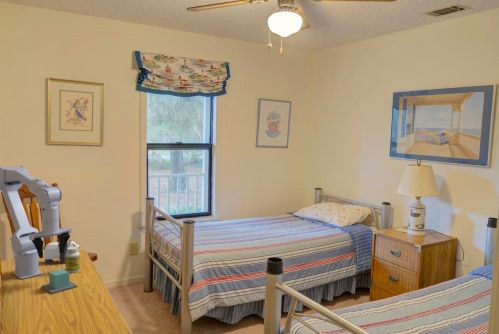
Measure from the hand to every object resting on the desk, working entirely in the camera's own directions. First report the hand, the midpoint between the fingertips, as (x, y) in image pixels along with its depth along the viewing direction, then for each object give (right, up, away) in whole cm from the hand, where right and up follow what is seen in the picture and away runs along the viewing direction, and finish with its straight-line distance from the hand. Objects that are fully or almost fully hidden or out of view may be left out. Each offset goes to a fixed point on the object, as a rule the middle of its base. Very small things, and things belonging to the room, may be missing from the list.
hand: (51, 255), depth 148 cm
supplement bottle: (+2, -10, +13) cm, 17 cm away
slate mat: (+5, -11, -3) cm, 12 cm away
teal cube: (+5, -10, -4) cm, 12 cm away
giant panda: (-8, -8, +23) cm, 26 cm away
